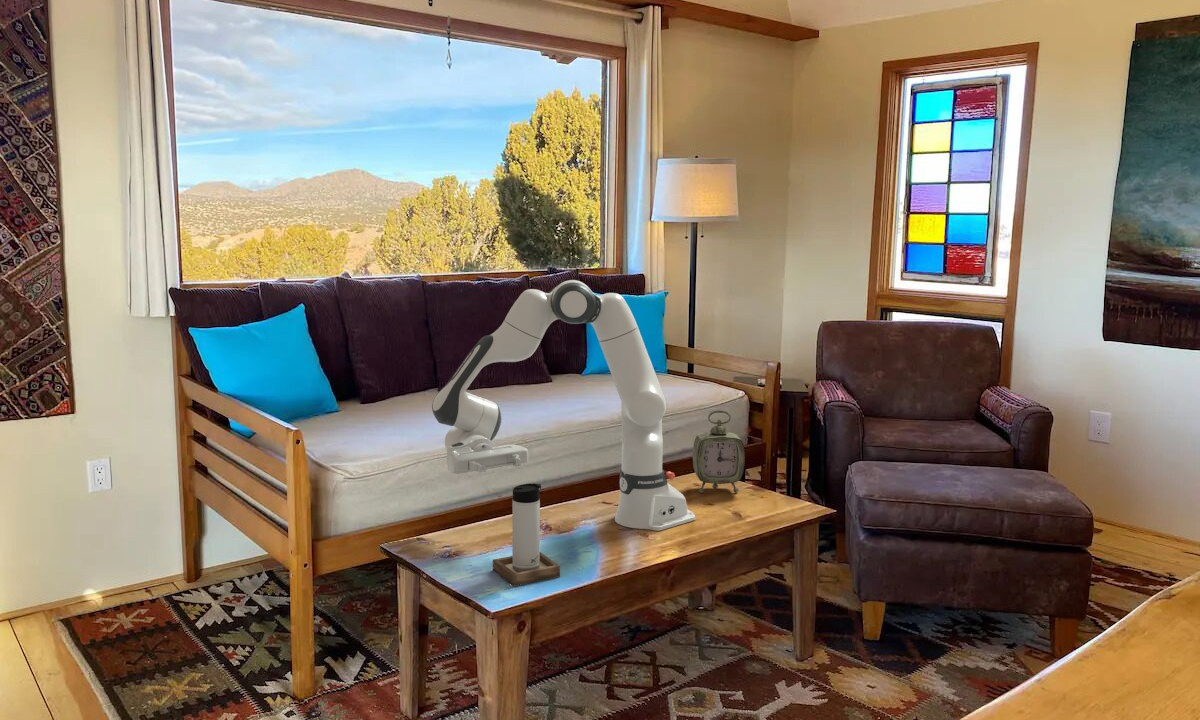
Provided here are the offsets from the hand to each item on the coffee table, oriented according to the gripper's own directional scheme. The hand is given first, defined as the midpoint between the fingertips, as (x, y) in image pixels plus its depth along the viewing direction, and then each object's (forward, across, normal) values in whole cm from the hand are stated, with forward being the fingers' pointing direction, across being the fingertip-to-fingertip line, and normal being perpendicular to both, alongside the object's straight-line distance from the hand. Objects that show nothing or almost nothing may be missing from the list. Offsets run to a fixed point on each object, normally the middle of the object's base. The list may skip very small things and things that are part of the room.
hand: (500, 466), depth 228 cm
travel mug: (+17, +2, -20) cm, 26 cm away
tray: (+17, +2, -22) cm, 27 cm away
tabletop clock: (-15, -78, -24) cm, 83 cm away
